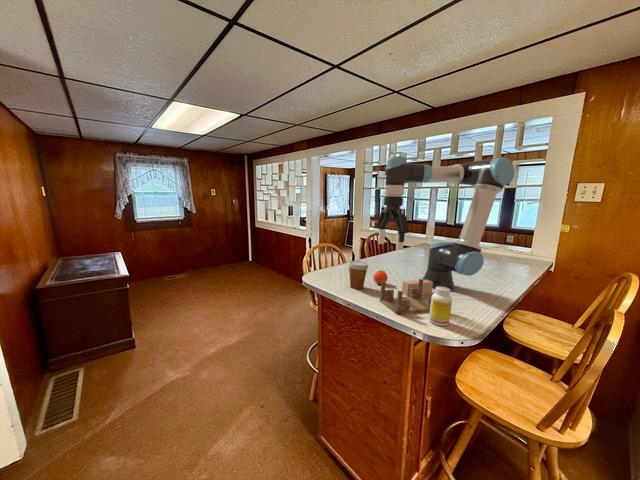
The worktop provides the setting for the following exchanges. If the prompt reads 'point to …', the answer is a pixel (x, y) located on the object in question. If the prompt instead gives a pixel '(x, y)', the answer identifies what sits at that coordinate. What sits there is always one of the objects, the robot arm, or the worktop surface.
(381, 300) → the rack
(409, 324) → the worktop surface
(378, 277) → the clementine
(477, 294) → the worktop surface
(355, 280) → the disposable coffee cup
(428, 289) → the pinkish tan block
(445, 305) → the supplement bottle
